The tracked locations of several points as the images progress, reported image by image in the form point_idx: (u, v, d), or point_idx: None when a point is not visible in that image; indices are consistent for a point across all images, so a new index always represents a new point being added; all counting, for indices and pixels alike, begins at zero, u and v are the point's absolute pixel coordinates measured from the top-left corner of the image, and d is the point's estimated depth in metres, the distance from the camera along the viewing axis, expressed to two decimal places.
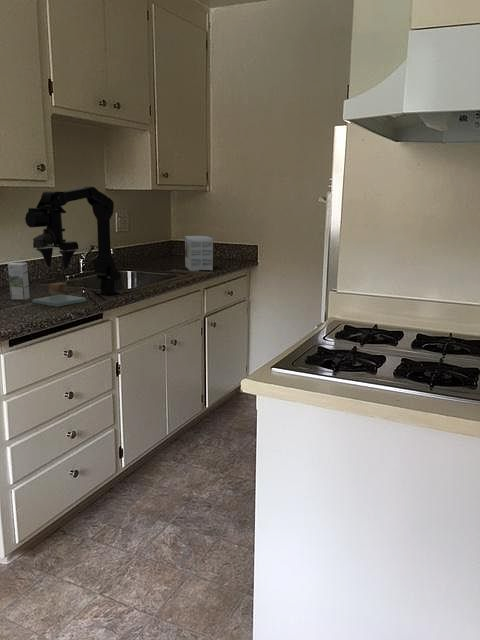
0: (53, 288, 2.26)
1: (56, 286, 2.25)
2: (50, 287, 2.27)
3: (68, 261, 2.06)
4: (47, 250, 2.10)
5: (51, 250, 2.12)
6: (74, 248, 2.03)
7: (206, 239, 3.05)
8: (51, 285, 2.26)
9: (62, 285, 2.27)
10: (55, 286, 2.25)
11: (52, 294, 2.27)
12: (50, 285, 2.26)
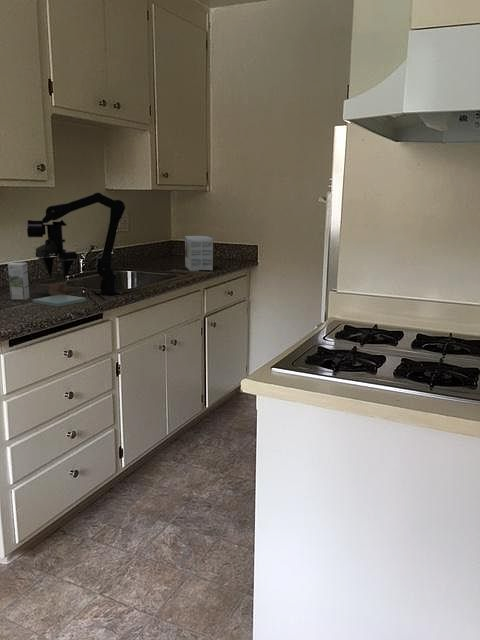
0: (53, 288, 2.26)
1: (56, 286, 2.25)
2: (50, 287, 2.27)
3: (68, 269, 2.24)
4: (48, 259, 2.28)
5: (52, 259, 2.30)
6: (73, 257, 2.21)
7: (206, 239, 3.05)
8: (51, 285, 2.26)
9: (62, 285, 2.27)
10: (55, 286, 2.25)
11: (52, 294, 2.27)
12: (50, 285, 2.26)
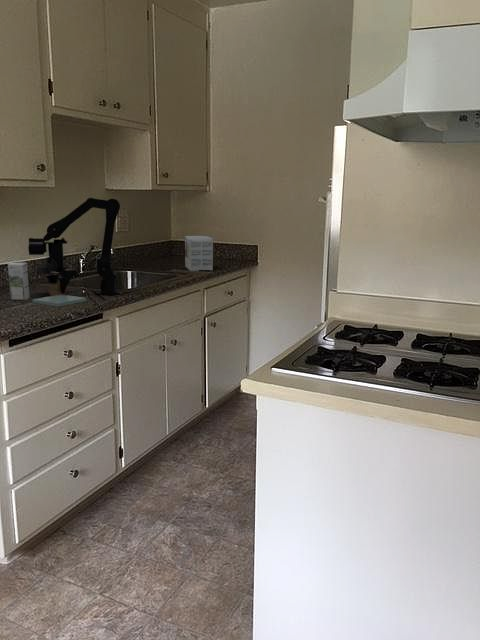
0: (53, 288, 2.26)
1: (56, 286, 2.25)
2: (50, 287, 2.27)
3: (65, 286, 2.27)
4: (52, 276, 2.29)
5: (56, 276, 2.30)
6: (74, 275, 2.22)
7: (206, 239, 3.05)
8: (51, 285, 2.26)
9: None
10: (55, 286, 2.25)
11: (52, 294, 2.27)
12: (50, 285, 2.26)
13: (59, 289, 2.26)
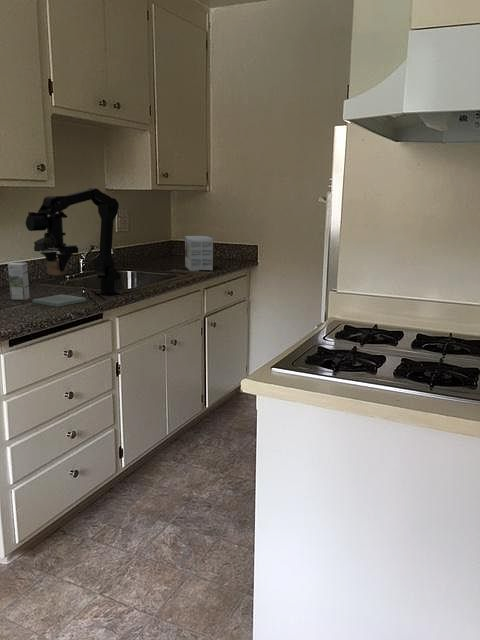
0: (51, 266, 2.11)
1: (55, 263, 2.09)
2: (48, 265, 2.11)
3: (64, 264, 2.11)
4: (51, 254, 2.14)
5: (55, 254, 2.15)
6: (74, 252, 2.07)
7: (206, 239, 3.05)
8: (49, 262, 2.11)
9: None
10: (53, 263, 2.10)
11: (50, 272, 2.12)
12: (48, 262, 2.11)
13: (58, 267, 2.10)
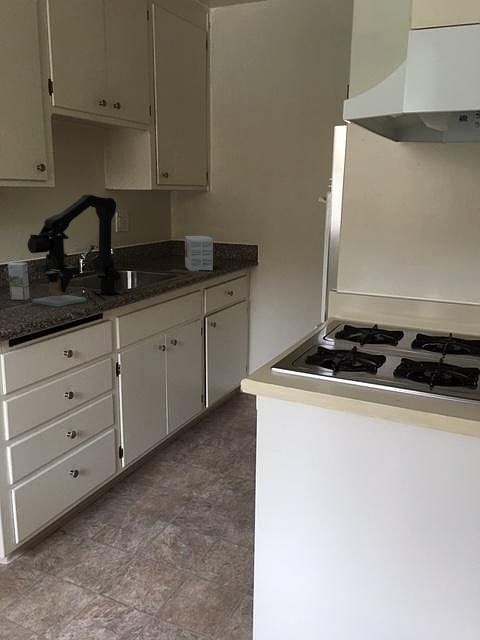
0: (53, 287, 2.12)
1: (56, 284, 2.11)
2: (50, 286, 2.13)
3: (66, 285, 2.13)
4: (53, 275, 2.15)
5: (57, 275, 2.17)
6: (76, 273, 2.09)
7: (206, 239, 3.05)
8: (51, 283, 2.12)
9: None
10: (55, 284, 2.11)
11: (52, 293, 2.13)
12: (50, 283, 2.13)
13: (60, 288, 2.12)
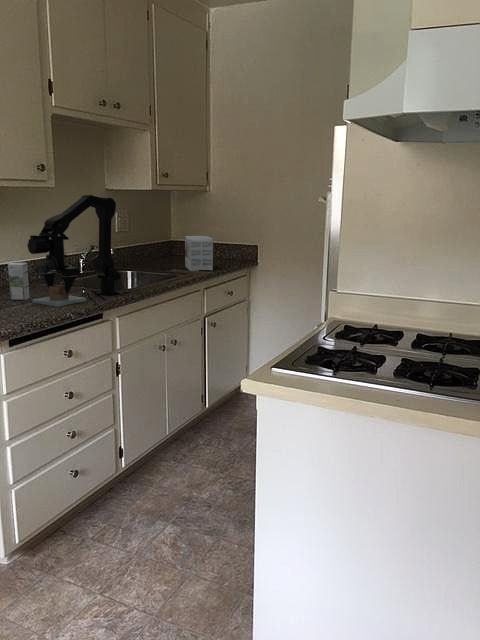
0: (53, 291, 2.12)
1: (56, 288, 2.11)
2: (50, 290, 2.13)
3: (70, 286, 2.12)
4: (49, 275, 2.16)
5: (53, 275, 2.18)
6: (76, 274, 2.09)
7: (206, 239, 3.05)
8: (51, 287, 2.13)
9: (63, 287, 2.13)
10: (55, 288, 2.12)
11: (52, 297, 2.13)
12: (50, 287, 2.13)
13: (60, 292, 2.12)
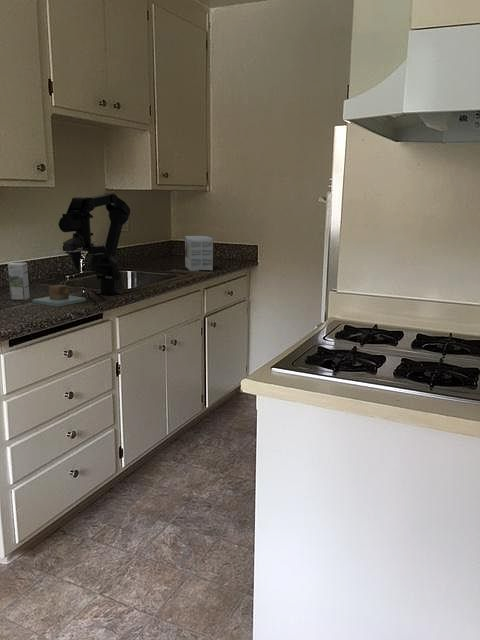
0: (53, 291, 2.12)
1: (56, 288, 2.11)
2: (50, 290, 2.13)
3: (96, 264, 2.15)
4: (76, 253, 2.19)
5: (79, 253, 2.21)
6: (102, 252, 2.12)
7: (206, 239, 3.05)
8: (51, 287, 2.13)
9: (63, 287, 2.13)
10: (55, 288, 2.12)
11: (52, 297, 2.13)
12: (50, 287, 2.13)
13: (60, 292, 2.12)
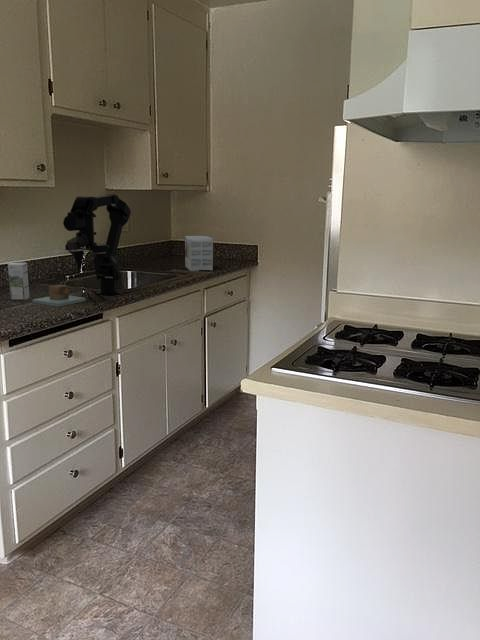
0: (53, 291, 2.12)
1: (56, 288, 2.11)
2: (50, 290, 2.13)
3: (99, 263, 2.15)
4: (78, 253, 2.20)
5: (82, 253, 2.21)
6: (105, 251, 2.12)
7: (206, 239, 3.05)
8: (51, 287, 2.13)
9: (63, 287, 2.13)
10: (55, 288, 2.12)
11: (52, 297, 2.13)
12: (50, 287, 2.13)
13: (60, 292, 2.12)
